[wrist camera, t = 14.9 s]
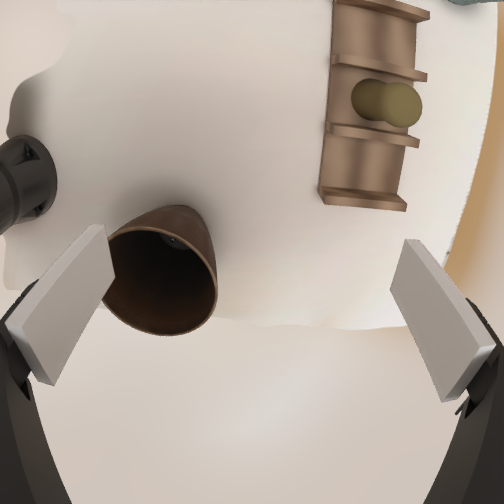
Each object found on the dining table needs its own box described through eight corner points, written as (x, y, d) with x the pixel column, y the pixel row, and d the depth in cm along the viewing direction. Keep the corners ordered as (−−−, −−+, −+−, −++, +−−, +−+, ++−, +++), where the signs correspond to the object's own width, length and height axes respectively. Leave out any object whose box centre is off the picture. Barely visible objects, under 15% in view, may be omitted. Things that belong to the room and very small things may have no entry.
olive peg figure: (352, 121, 38) (381, 134, 28) (348, 77, 35) (378, 76, 25) (392, 120, 37) (430, 134, 28) (390, 79, 34) (429, 80, 25)
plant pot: (139, 171, 43) (89, 215, 29) (238, 190, 45) (229, 244, 31) (134, 257, 51) (97, 320, 37) (220, 275, 52) (207, 347, 38)
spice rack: (318, 191, 44) (324, 204, 40) (333, -3, 30) (342, -13, 26) (392, 198, 44) (405, 211, 40) (413, 17, 30) (429, 11, 26)
